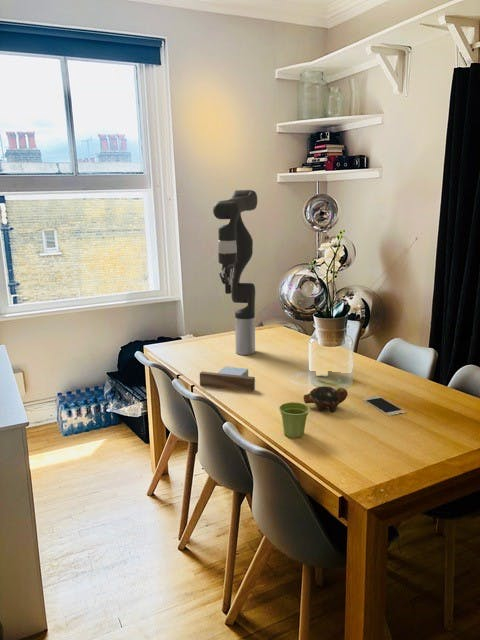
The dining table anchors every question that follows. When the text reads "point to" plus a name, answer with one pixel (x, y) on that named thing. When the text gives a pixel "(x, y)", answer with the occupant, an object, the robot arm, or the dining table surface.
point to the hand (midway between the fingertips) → (228, 293)
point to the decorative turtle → (326, 397)
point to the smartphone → (383, 405)
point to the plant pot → (294, 418)
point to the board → (227, 381)
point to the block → (234, 371)
